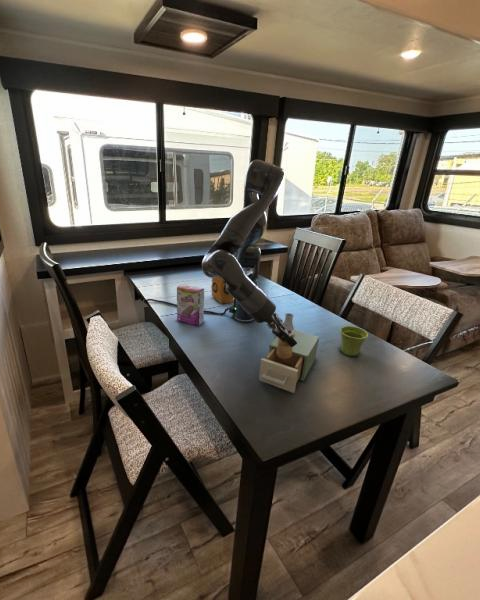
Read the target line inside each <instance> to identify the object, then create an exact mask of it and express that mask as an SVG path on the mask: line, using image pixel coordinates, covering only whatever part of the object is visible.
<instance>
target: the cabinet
mask: <svg viewBox="0 0 480 600" xmlns="http://www.w3.org/2000/svg"><path fill="white" fill-rule="evenodd" d="M293 331H294V332H295V336H294V339H295V340H296V342H297V344H296V345H295V346H293V349H292V354H295V355H298V356H302V357H305V360H304V366H303V371H302V374H301V376H300V377H299V379H298V381H302V382H304V381H305V379H306V377H307V375H308V374H309V372H310V371H311V368H312V366H313V364H314V363H315V361H316V356H317V350H318V346H319V339H320V336H318V335H315V334H310V333H307V332H303V331H301V330H297V329H296V330H295V329H294V330H293ZM277 346H278V337H277V336H275V338H274V339H273V340H272V341H271V343H270V344H269V349H268V354H269V353H270V352H271V351H272V349H273V348H276V349H277Z"/></svg>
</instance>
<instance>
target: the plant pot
mask: <svg viewBox="0 0 480 600" xmlns="http://www.w3.org/2000/svg"><path fill="white" fill-rule="evenodd" d="M339 331H340V336H341V338H340V339H341V341H340V343H341V344H340V351H341V352H342V353H343V354H344V355H346V356H348V357H353V356H358V355H359V353H360V351H361V348H362V346H363V344H364V342H365V340H366V339H367V338H368V337H369V334H368V332H367V331H366V330H364V329H363V328H360V327H357V326H352V325H345V326H342V327H340V329H339Z"/></svg>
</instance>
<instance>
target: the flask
mask: <svg viewBox="0 0 480 600" xmlns="http://www.w3.org/2000/svg"><path fill="white" fill-rule="evenodd" d="M284 317H285V318H284V321H283V323H284V324H285V326H286V327H289V328H291V329H292V330H295V328H294V323H293V318H294V317H295V315H294V314H293V313H290V312H287V313H285V314H284Z"/></svg>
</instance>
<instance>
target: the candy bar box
mask: <svg viewBox="0 0 480 600" xmlns="http://www.w3.org/2000/svg"><path fill="white" fill-rule="evenodd" d="M176 305H177V306H176V318H177V322H180V323H185V324H188V325H192V326H197V327H200V326H202V324H203V323H204V321H205V317H204V315H205V314H204V313H205V312H204V311H205V288H204V287H199V286H194V285H189V284H185V283H181V284H180V285H177V287H176Z"/></svg>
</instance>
